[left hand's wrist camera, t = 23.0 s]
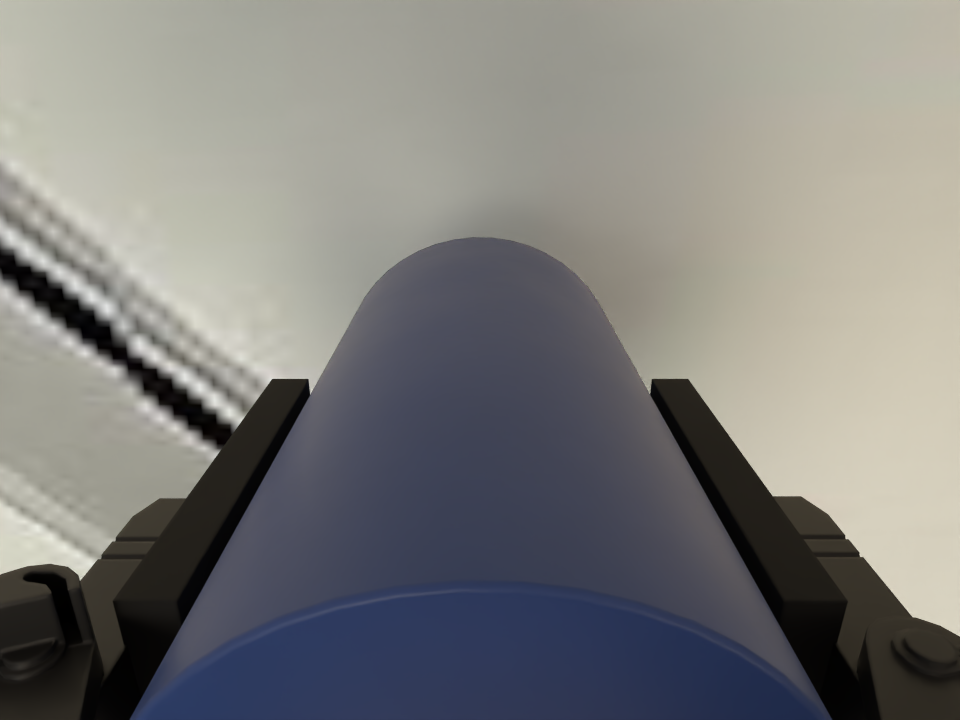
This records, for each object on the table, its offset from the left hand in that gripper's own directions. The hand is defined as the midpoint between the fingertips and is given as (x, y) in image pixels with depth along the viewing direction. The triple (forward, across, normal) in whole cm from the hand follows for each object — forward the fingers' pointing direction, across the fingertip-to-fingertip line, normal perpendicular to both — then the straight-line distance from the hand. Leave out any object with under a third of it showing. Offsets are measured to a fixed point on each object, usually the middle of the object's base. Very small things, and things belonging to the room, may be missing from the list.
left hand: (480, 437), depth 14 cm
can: (+4, 0, 0) cm, 4 cm away
